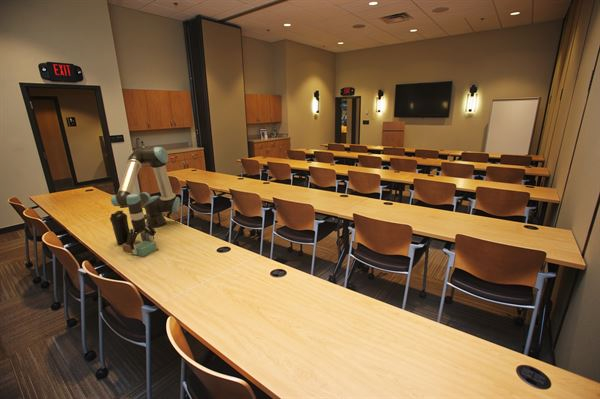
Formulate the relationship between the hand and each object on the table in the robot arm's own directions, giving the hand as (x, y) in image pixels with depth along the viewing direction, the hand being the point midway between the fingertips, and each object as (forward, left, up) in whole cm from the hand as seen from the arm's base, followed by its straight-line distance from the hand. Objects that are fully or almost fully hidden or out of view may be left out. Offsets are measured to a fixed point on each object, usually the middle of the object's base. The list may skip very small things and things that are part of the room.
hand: (144, 249), depth 191 cm
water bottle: (-6, -27, -2) cm, 28 cm away
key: (-11, -7, +6) cm, 15 cm away
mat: (0, 0, -2) cm, 2 cm away
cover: (0, 0, -2) cm, 2 cm away
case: (0, -11, -2) cm, 11 cm away
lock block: (-12, -11, -2) cm, 16 cm away
